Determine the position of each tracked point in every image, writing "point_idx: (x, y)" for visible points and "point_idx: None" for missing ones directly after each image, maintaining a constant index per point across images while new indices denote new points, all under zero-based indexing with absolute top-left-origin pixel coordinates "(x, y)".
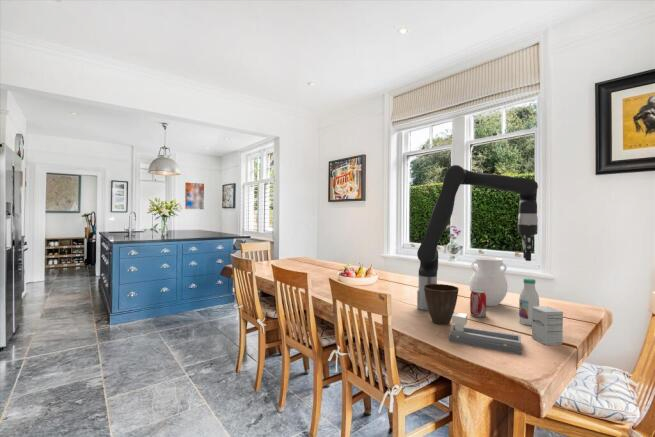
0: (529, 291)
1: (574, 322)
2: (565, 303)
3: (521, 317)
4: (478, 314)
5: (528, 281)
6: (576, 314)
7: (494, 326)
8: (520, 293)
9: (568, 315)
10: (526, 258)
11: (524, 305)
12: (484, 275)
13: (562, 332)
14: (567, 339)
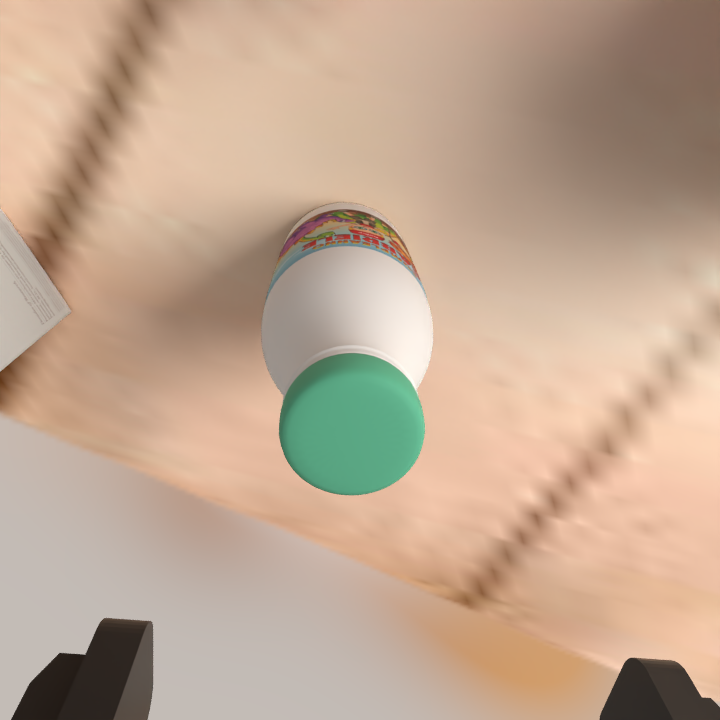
0: (279, 357)
1: (453, 522)
2: None
3: (309, 218)
4: None
5: (282, 405)
6: (628, 574)
7: None
8: (357, 270)
9: (598, 532)
10: (32, 683)
11: (281, 262)
12: None
13: None
14: (92, 402)
